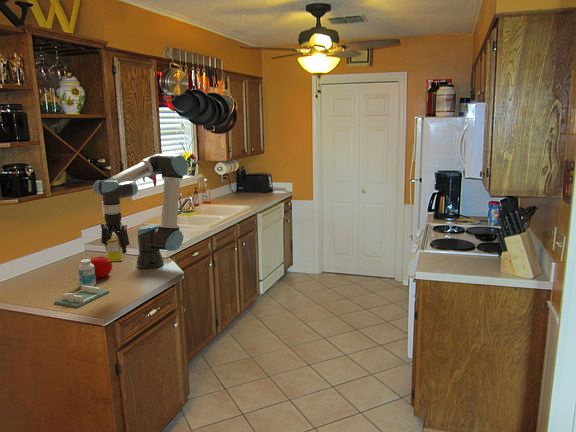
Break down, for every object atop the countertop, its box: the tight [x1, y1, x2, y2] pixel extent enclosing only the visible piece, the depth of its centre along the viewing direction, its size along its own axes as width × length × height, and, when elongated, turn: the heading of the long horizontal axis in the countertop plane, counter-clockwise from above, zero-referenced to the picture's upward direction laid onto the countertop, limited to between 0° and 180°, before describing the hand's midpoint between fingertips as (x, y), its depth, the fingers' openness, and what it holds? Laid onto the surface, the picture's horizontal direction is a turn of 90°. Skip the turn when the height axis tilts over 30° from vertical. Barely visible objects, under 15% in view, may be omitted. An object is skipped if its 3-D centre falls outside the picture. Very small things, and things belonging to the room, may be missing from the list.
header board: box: [54, 285, 110, 309], centre depth 223 cm, size 20×14×5 cm
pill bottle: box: [77, 258, 97, 287], centre depth 239 cm, size 8×7×14 cm
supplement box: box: [107, 237, 124, 264], centre depth 227 cm, size 6×6×11 cm
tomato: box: [89, 255, 113, 279], centre depth 252 cm, size 12×14×11 cm
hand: (116, 258), depth 228 cm, fingers closed on supplement box, 7 cm apart
